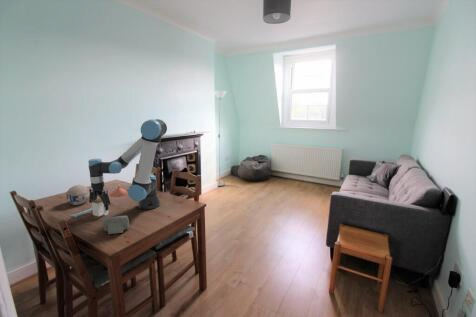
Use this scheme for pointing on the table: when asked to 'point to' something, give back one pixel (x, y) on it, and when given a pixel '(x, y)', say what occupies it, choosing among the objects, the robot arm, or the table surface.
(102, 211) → the cream block
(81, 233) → the table surface
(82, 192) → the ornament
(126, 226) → the digital clock
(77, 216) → the strip
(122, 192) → the ceramic vessels
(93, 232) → the table surface
